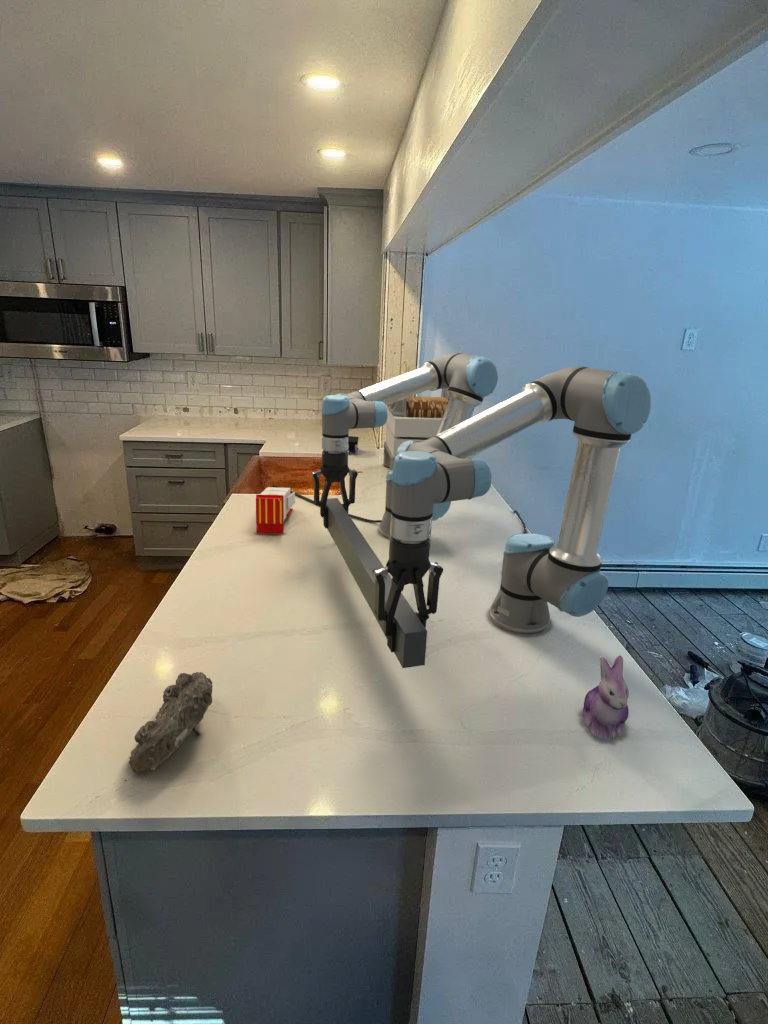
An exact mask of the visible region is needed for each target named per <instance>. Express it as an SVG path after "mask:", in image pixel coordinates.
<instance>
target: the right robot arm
mask: <svg viewBox="0 0 768 1024" xmlns="http://www.w3.org/2000/svg"><path fill="white" fill-rule="evenodd" d="M651 408H652V396H651V391H650V388H649V387H648V386H647V383H646V382H645V380H644V379H643V378H642V377H640V376H638V375H636V374H632V373H628V372H626V371H620V370H611V369H610V370H609V369H601V368H593V367H588V366H571V367H564V368H562V369H559V370H556V371H554V372H551V373H547V374H546V375H543V376H541V377H539V378H537V379H535V380H533V381H531V382H528V383H527V384H525V385H524V386H523V387H522V388H521V390H520V392H519V393H517V394H515V395H513V396H511V397H509V398H507V399H505V400H503V401H501V402H499V403H497V404H495V405H493V406H491V407H489V408H487V409H485V410H484V411H482V412H479V413H477V414H476V415H472V417H471V418H469V419H467V420H465V421H463V422H461V423H459V424H457V425H455V426H454V427H452V428H450V429H448V430H446V431H444V432H442V433H440V434H438V435H436V436H434V437H432V438H430V439H427V440H425V441H423V442H420V441H413V440H410V441H406V442H404V443H402V444H401V445H400V446H399V448H398V449H397V451H396V454H395V459H394V465H393V474H392V500H391V521H390V535H391V537H390V538H389V541H388V542H389V543H388V545H389V546H388V560H387V562H386V564H385V566H384V568H382V569H379V570H378V569H377V568H375V569H373V571H372V573H373V575H374V578H375V610H374V612H375V615H376V616H377V618H378V620H379V621H382V620H384V628H383V631H384V633H385V635H386V636H388V637H387V638H386V645H387V647H388V649H389V651H390V652H391V653H394V652H395V644H396V626H397V622H396V621H395V619H394V615H395V612H396V608H397V605H398V601H399V598H400V595H401V593H402V591H404V588H405V586H407V585H412V587H413V591H414V598H415V605H416V609H417V611H416V612H415V611H414V612H415V614H416V615H417V617H418V618H419V619H420V621H421V622H422V624H423V625H424V627H425V628H426V629H427V620H429V618H430V615H434V614H436V613H437V610H438V600H439V591H440V590H439V589H440V579H441V577H442V575H443V572H444V568H443V567H442V565H441V564H439V562H437V561H435V562H431V561H430V554H431V553H430V552H431V543H432V542H431V536H432V526H433V521H432V516H433V507H434V504H437V503H443V502H450V501H451V502H456V501H464V500H472V499H476V498H479V497H483V496H485V495H486V494H487V493H488V492H489V490H490V489H491V487H492V479H493V475H492V474H493V473H492V470H491V468H490V466H489V464H488V463H487V461H486V460H485V459H483V458H481V457H475V456H477V455H478V454H481V453H483V452H484V451H486V450H488V449H490V448H492V447H494V446H496V445H497V444H499V443H502V442H503V441H505V440H507V439H508V438H511V437H512V436H514V435H516V434H518V433H520V432H522V431H524V430H526V429H528V428H529V427H532V426H533V425H536V424H538V425H545V424H548V423H549V422H551V421H554V420H569V421H572V422H574V423H573V429H572V434H573V435H574V437H575V438H576V440H577V446H576V450H575V456H574V460H573V466H572V470H571V474H570V480H569V485H568V490H567V496H566V500H565V504H564V509H563V514H562V520H561V524H560V530H559V535H558V539H557V543H555V540H554V539H553V538H552V537H550V536H548V535H544V534H538V533H527V527H526V523H525V522H524V520H523V518H522V517H521V515H520V514H519V512H518V511H517V510H515V509H514V510H513V512H512V513H513V514H516V516H517V518H518V519H519V520H520V523H521V524H522V526H523V531H524V533H518V534H514V535H512V536H510V537H508V539H507V540H506V542H505V548H504V550H503V557H502V567H501V576H500V586H499V589H498V592H497V594H496V595H495V597H494V600H493V601H492V604H491V606H490V608H489V619H490V621H491V622H492V623H493V624H494V625H495V626H496V627H498V628H500V629H501V630H504V631H506V632H508V633H513V634H517V635H524V636H526V635H527V636H529V635H532V636H533V635H539V634H541V633H544V632H546V631H547V630H548V629H549V627H550V624H551V623H550V622H551V613H550V609H549V604H550V605H552V606H554V607H555V608H557V609H558V611H560V612H564V613H566V614H567V615H569V616H572V617H575V618H579V617H584V616H586V615H588V614H591V612H593V611H594V610H596V609H597V607H598V606H599V605H600V604H601V603H602V602H603V600H604V599H605V597H606V595H607V592H608V589H609V580H608V577H607V576H606V575H605V574H604V573H603V572H601V568H602V563H603V558H602V557H601V555H600V554H599V552H598V548H599V543H600V539H601V536H602V530H603V526H604V521H605V517H606V514H607V508H608V504H609V499H610V496H611V491H612V487H613V483H614V478H615V473H616V469H617V464H618V460H619V455H620V451H621V448H623V446H625V445H626V444H628V443H629V442H630V441H631V438H632V435H633V434H636V433H638V432H640V431H641V430H642V429H643V428H644V424H646V423H647V421H648V419H649V416H650V414H651ZM525 528H526V529H525ZM427 573H428V580H427V581H428V582H427V594H426V597H425V590H424V587H425V585H424V580H423V578H424V576H425V575H426V574H427ZM387 574H389V575H390V577H391V578H392V581H391V588H390V592H389V595H388V599H387V602H386V606H385V582H384V581H386V578H387ZM548 603H549V604H548ZM383 631H382V632H383ZM384 633H383V634H384ZM385 635H384V636H385Z"/></svg>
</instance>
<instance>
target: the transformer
mask: <svg viewBox="0 0 768 1024" xmlns="http://www.w3.org/2000/svg"><path fill="white" fill-rule="evenodd" d="M447 391H448V389H447V388H444V389H441V392H440V393H441V394H440V396H416V395H413V396H411V397H408V398H405V399H403V400H400V401H397V402H395V403H392V404H389V405H387V406H386V407H387V411H388V416H387V417H388V418H387V422H386V423H385V424H386V428H385V438H384V442H383V466H384V467H388V468H389V471H390V470H393V465H394V459H395V454H396V451H397V449H398V448H399V446H400V445H401V444H402V443H404V442H406V441H410V440H413V441H420V442H423V441H425V440H427V439H430V438H432V437H434V436H436V434H437V431H438V428H439V426H440V423H441V420H442V418H443V415H444V413H445V410H446V407H447V405H448V402H449V399H450V397H449V395H448V392H447Z"/></svg>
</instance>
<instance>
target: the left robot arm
mask: <svg viewBox="0 0 768 1024" xmlns="http://www.w3.org/2000/svg"><path fill="white" fill-rule="evenodd" d="M498 384H499V371H498V370H497V365H496V363H495V362H494V361H493V359H491V358H489V357H487V356H486V357H485V356H482V355H479V354H478V355H475V354H467V353H461V352H454V353H449V354H446V355H445V354H444V355H443V356H439V357H436V358H434V359H431V360H429V361H425V362H423V363H422V364H421V366H420V367H419V368H416V369H413V370H410V371H407V372H404V373H402V374H399V375H396V376H394V377H391V378H389V379H386V380H383V381H380V382H377V383H374V384H372V385H369V386H367V387H364V388H361V389H359V390H355V391H351V392H350V393H345V392H344V393H337V394H330V395H325V396H324V397H323V399H322V404H321V431H322V432H321V449H322V451H321V467H320V469H319V470H316V471H313V470H312V472H311V476H312V478H313V499H311V498H310V497H306V496H304V495H302V494H300V493H297V492H295V497H299V498H301V499H303V500H306V501H307V502H310V503H312V504H314V505H315V506H316V507H319V515H320V517H321V518H323V517H324V521H323V520H322V522H323V527H324V529H327V528H328V507H327V505H326V502H327V499H329V498H328V497H329V494H330V490H331V487H332V485H333V483H338V485H339V490H340V494H341V499H342V503H341V504H342V506H343V507H344V508H345V510H346V511H347V513H348V514H349V516H350V517H351V519H357V520H359V521H363V522H368V523H373V524H378V523H379V527H378V533H379V534H380V535H381V536H382V537H385V538H387V539H390V537H391V535H390V521H391V500H392V474H393V470H390V469H389V470H388V472H387V474H386V479H385V504H384V505H385V507H384V508H385V509H384V513H383V515H382V519H376V520H375V519H369V518H364V517H361V516H358V515H354V514H350V513H349V507H350V505H353V504H355V503H356V483H357V482H356V481H357V478H358V475H359V473H358V471H357V470H356V469H351V468H350V466H349V451H346V450H348V436H350V434H349V433H350V430H357V429H358V430H359V429H375V428H381V427H383V426H385V425H386V424H387V423H386V422H387V418H388V417H387V416H388V411H387V405H389V404H392V403H395V402H397V401H400V400H403V399H405V398H408V397H411V396H416V395H419V394H421V393H424V392H426V391H430V392H435V391H438V390H442V389H444V388H447V389H448V391H447V392H448V395H449V397H450V399H449V402H448V405H447V407H446V410H445V413H444V415H443V418H442V420H441V423H440V426H439V428H438V431H437V434H436V435H438V434H440V433H442V432H444V431H446V430H448V429H450V428H452V427H454V426H455V425H457V424H459V423H461V422H463V421H465V420H467V419H469V418H471V417H473V414H474V412H475V409H476V408H477V407H479V406H481V405H482V404H483V401H484V399H485V398H486V397H488V396H490V395H491V394H493V393H494V392H495V390H496V389H497V386H498ZM321 475H322V476H323V477H324V478H325V479H324V484H323V488H322V493H321V497H320V479H321ZM347 475H348V476H349V481H348V483H349V485H348V486H349V487H348V493H347V489H346V483H345V478H346V477H347ZM271 486H272V487H276V488H282V487H280V486H277V485H274V484H273V485H271ZM293 492H294V491H292V490H290V495H291V494H292V493H293ZM451 505H452V501H450V502H443V503H437V504H434V507H433V516H432V522H434V521H438V520H439V519H440V518H442V517H444V516H445V515H446V514H447V513H448V511H449V510H450V508H451Z"/></svg>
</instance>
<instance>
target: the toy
mask: <svg viewBox="0 0 768 1024" xmlns="http://www.w3.org/2000/svg"><path fill="white" fill-rule="evenodd" d="M290 491H291V487H281V488H276V487H270V486H268V487H266V488H265V489H264V490H262V491H261V492H260V494H256V495H255V523H256V534H270V535H271V534H274V535H283V534H284V533H285V532H284V531H285V530H284V528H285V527H284V525H285V524H284V521H285V520H286V518H287V517H289V516H290V515H291V513H292V512H293V508H292V507H293V506H294V505H295V504H296V495H295V493H296V492H295V491H292V492H293V493H292V494H291V493H290Z"/></svg>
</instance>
